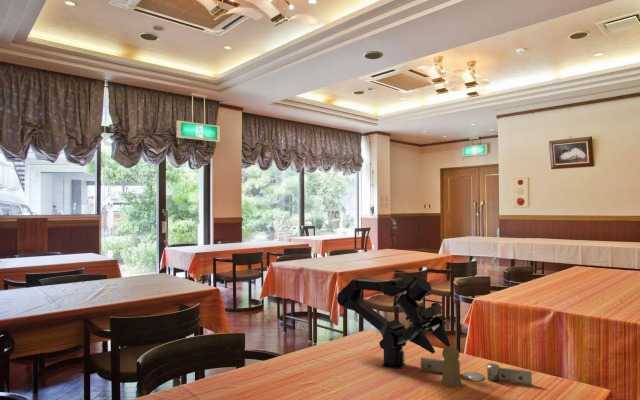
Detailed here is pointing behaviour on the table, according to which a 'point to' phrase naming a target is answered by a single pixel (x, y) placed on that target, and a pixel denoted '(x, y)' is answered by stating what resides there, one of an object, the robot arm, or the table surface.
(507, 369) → the hinge frame
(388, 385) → the table surface
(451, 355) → the olive rounded piece
